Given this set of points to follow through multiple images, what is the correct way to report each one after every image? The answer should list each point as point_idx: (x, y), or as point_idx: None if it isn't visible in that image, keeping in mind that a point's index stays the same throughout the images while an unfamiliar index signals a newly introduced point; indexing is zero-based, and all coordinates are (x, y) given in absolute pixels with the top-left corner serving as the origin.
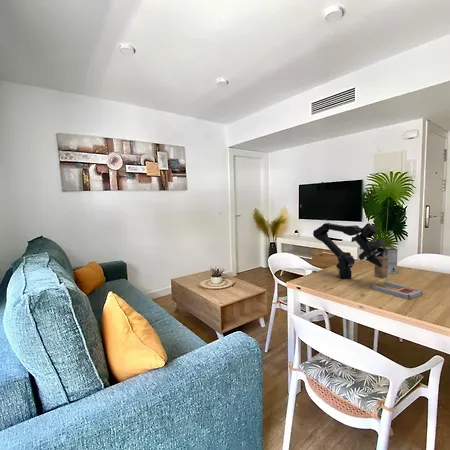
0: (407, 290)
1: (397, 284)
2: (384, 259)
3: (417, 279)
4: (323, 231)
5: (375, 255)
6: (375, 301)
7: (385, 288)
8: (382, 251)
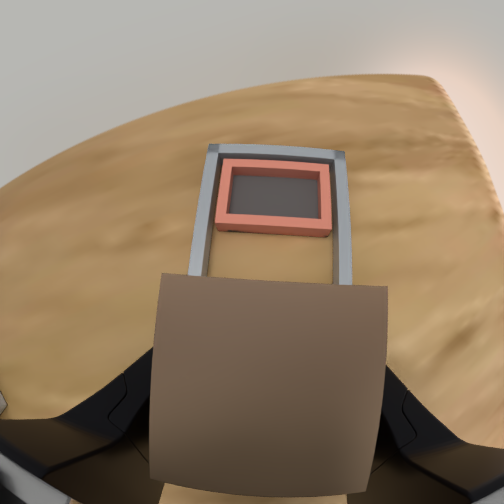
0: (229, 205)
1: (189, 270)
2: (321, 288)
3: (9, 263)
4: None
5: (446, 468)
6: (473, 254)
7: (339, 284)
8: (12, 458)
